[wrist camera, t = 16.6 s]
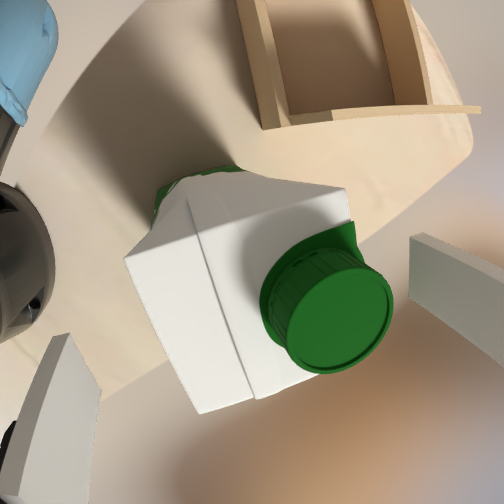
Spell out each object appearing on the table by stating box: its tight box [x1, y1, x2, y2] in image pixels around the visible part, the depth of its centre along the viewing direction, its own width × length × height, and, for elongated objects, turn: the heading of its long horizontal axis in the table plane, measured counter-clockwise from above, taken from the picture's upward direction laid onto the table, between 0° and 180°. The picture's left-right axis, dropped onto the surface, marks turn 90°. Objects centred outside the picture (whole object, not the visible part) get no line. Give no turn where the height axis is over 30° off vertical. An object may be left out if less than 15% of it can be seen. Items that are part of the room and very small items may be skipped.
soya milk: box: [124, 165, 393, 414], centre depth 19 cm, size 9×9×20 cm
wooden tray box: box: [235, 0, 481, 130], centre depth 20 cm, size 16×16×12 cm
